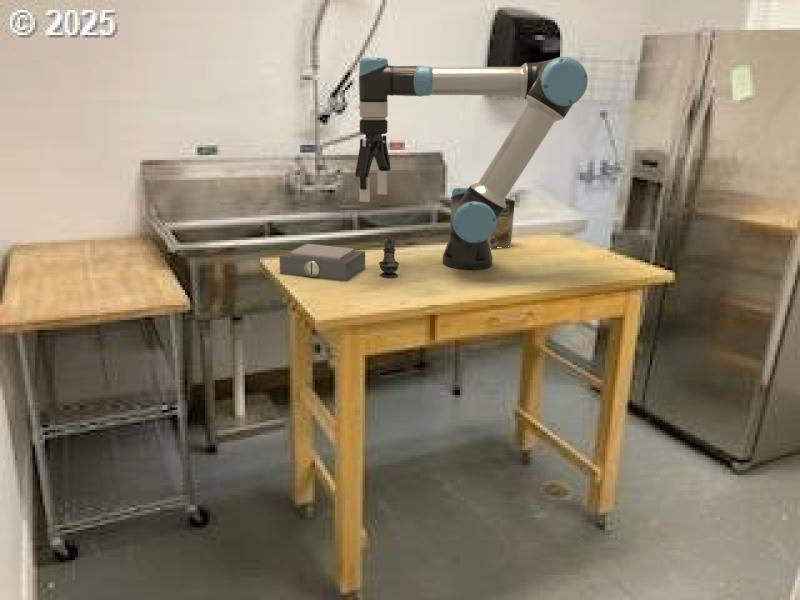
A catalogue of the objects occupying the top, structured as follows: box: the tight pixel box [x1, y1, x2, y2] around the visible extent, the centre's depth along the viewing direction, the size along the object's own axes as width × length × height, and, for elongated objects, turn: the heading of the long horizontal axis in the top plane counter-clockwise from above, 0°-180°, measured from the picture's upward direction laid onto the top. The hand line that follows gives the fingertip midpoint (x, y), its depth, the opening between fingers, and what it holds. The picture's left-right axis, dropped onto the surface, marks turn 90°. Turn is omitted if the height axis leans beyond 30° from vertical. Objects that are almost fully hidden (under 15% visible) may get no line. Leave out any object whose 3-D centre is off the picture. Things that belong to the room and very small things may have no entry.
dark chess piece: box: [378, 233, 400, 279], centre depth 188 cm, size 6×6×12 cm
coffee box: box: [488, 197, 516, 248], centre depth 225 cm, size 9×6×16 cm
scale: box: [279, 243, 366, 282], centre depth 192 cm, size 20×16×6 cm
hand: (373, 197), depth 186 cm, fingers open, 13 cm apart
